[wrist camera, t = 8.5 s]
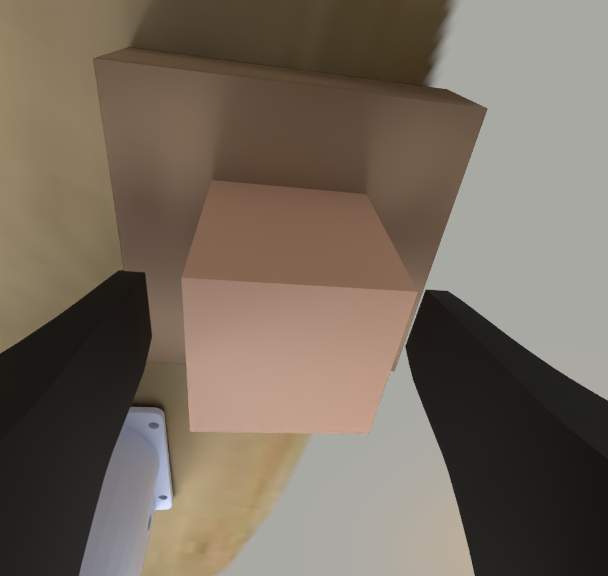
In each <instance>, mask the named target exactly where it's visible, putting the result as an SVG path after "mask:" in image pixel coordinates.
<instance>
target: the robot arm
mask: <svg viewBox="0 0 608 576" xmlns="http://www.w3.org/2000/svg"><path fill="white" fill-rule="evenodd" d="M151 339H152V329H151V320H150V311H149V302H148V293H147V284H146V275H145V272H133V271H118V272H116V273H115V274H113V275H112V276H111V277H109V278H108V279H107V280H105V281H104V282H103V283H101V284H100V285H99V286H98V287H96V288H95V289H94V290H92V291H91V292H90V293H88V294H87V295H86V296H85V297H83V298H82V299H80V300H79V301H78V302H76V303H75V304H74V305H72V306H71V307H70V308H68V309H67V310H66V311H64V312H63V313H61V314H60V315H59V316H57V317H56V318H54V319H53V320H51V321H50V322H48V323H47V324H45V325H44V326H42V327H41V328H39V329H38V330H36V331H35V332H33V333H32V334H30V335H29V336H27V337H26V338H24V339H23V340H21V341H20V342H18V343H17V344H15V345H14V346H12V347H10V348H9V349H7V350H6V351H4V352H2V353H0V576H141V573H142V568H143V564H144V559H145V554H146V550H147V545H148V541H149V536H150V532H151V527H152V523H153V518H154V513H155V510H166V509H170V508H171V507H172V505H173V492H172V482H171V473H170V463H169V453H168V444H167V434H166V425H165V415H164V412H163V411H162V410H161V409H159V408H155V407H130V406H131V404H132V401H133V399H134V396H135V393H136V391H137V388H138V386H139V383H140V380H141V378H142V375H143V372H144V369H145V365H146V361H147V357H148V352H149V348H150V344H151ZM406 351H407V356H408V360H409V365H410V369H411V373H412V377H413V380H414V383H415V386H416V388H417V391H418V394H419V396H420V399H421V401H422V404H423V407H424V409H425V412H426V414H427V417H428V419H429V422H430V424H431V427H432V429H433V432H434V434H435V437H436V439H437V442H438V444H439V447H440V449H441V452H442V454H443V457H444V460H445V463H446V466H447V469H448V472H449V475H450V479H451V483H452V486H453V490H454V493H455V497H456V500H457V504H458V507H459V511H460V515H461V519H462V523H463V527H464V531H465V535H466V539H467V543H468V547H469V551H470V555H471V560H472V564H473V569H474V574H475V576H608V401H607V400H606V399H604V398H602V397H600V396H599V395H597V394H595V393H593V392H592V391H590V390H588V389H587V388H585V387H583V386H582V385H580V384H578V383H577V382H575V381H573V380H572V379H570V378H568V377H567V376H565V375H564V374H562V373H561V372H559V371H558V370H556V369H554V368H553V367H551V366H550V365H548V364H547V363H546V362H544V361H543V360H541V359H540V358H538V357H537V356H535V355H534V354H533V353H531V352H530V351H528V350H527V349H526V348H524V347H523V346H521V345H520V344H518V343H517V342H516V341H514V340H513V339H512V338H510V337H509V336H508V335H506V334H505V333H504V332H502V331H501V330H500V329H498V328H497V327H496V326H495V325H493V324H492V323H491V322H489V321H488V320H487V319H485V318H484V317H483V316H481V315H480V314H479V313H478V312H476V311H475V310H474V309H472V308H471V307H470V306H468V305H467V304H466V303H464V302H463V301H462V300H460V299H459V298H457V297H456V296H454V295H453V294H451V293H450V292H448V291H437V290H426V291H425V293H424V296H423V299H422V302H421V305H420V307H419V310H418V313H417V316H416V319H415V321H414V324H413V327H412V330H411V332H410V335H409V338H408V341H407V344H406Z"/></svg>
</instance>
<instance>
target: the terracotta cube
mask: <svg viewBox="0 0 608 576" xmlns="http://www.w3.org/2000/svg"><path fill="white" fill-rule="evenodd" d="M181 280H182V298H183V316H184V334H185V352H186V370H187V388H188V406H189V424H190V432H248V433H340V434H341V433H343V434H345V433H346V434H369V433H370V430H371V427H372V424H373V421H374V418H375V415H376V412H377V409H378V406H379V403H380V400H381V398H382V395H383V392H384V389H385V386H386V383H387V380H388V377H389V374H390V371H391V369H392V366H393V363H394V360H395V357H396V354H397V351H398V348H399V345H400V342H401V340H402V337H403V334H404V331H405V328H406V325H407V322H408V319H409V316H410V313H411V310H412V308H413V305H414V302H415V299H416V296H417V293H418V291H417V289H416V287H415V285H414V283H413V282H412V280H411V278H410V276H409V274H408V272H407V270H406V268H405V266H404V264H403V263H402V261H401V259H400V257H399V255H398V253H397V251H396V249H395V247H394V245H393V244H392V242H391V240H390V238H389V236H388V234H387V232H386V230H385V228H384V226H383V225H382V223H381V221H380V219H379V217H378V215H377V213H376V211H375V209H374V207H373V206H372V204H371V202H370V200H369V198H368V196H367V194H359V193H348V192H337V191H326V190H315V189H304V188H293V187H282V186H271V185H260V184H249V183H238V182H227V181H216V180H212V181H211V184H210V187H209V190H208V194H207V197H206V200H205V203H204V206H203V210H202V213H201V216H200V219H199V223H198V226H197V229H196V232H195V236H194V239H193V242H192V245H191V248H190V252H189V255H188V258H187V261H186V265H185V268H184V271H183V274H182V277H181Z"/></svg>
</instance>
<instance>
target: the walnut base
mask: <svg viewBox="0 0 608 576" xmlns="http://www.w3.org/2000/svg"><path fill="white" fill-rule="evenodd" d="M93 61H94V67H95V74H96V81H97V88H98V95H99V102H100V109H101V115H102V122H103V129H104V136H105V143H106V150H107V157H108V163H109V170H110V177H111V184H112V191H113V198H114V204H115V211H116V218H117V225H118V232H119V239H120V246H121V252H122V259H123V266H124V271H133V272H145V275H146V284H147V293H148V302H149V311H150V320H151V329H152V339H151V344H150V348H149V352H148V357H147V361H146V363H171V364H186V352H185V334H184V316H183V298H182V280H181V277H182V274H183V271H184V268H185V265H186V261H187V258H188V255H189V252H190V248H191V245H192V242H193V239H194V236H195V232H196V229H197V226H198V223H199V219H200V216H201V213H202V210H203V206H204V203H205V200H206V197H207V194H208V190H209V187H210V184H211V181H212V180H216V181H227V182H238V183H249V184H260V185H271V186H282V187H293V188H304V189H315V190H326V191H337V192H348V193H359V194H367V196H368V198H369V200H370V202H371V204H372V206H373V207H374V209H375V211H376V213H377V215H378V217H379V219H380V221H381V223H382V225H383V226H384V228H385V230H386V232H387V234H388V236H389V238H390V240H391V242H392V244H393V245H394V247H395V249H396V251H397V253H398V255H399V257H400V259H401V261H402V263H403V264H404V266H405V268H406V270H407V272H408V274H409V276H410V278H411V280H412V282H413V283H414V285H415V287H416V289H417V291H418V293H417V296H416V299H415V302H414V305H413V308H412V310H411V313H410V316H409V319H408V322H407V325H406V328H405V331H404V334H403V337H402V340H401V342H400V345H399V348H398V351H397V354H396V357H395V360H394V363H393V366H392V369H391V371H395V368H396V366H397V363H398V360H399V357H400V354H401V351H402V349H403V346H404V343H405V340H406V337H407V334H408V331H409V329H410V326H411V323H412V320H413V317H414V315H415V312H416V309H417V306H418V303H419V301H420V297H421V295H422V292H423V289H424V286H425V284H426V281H427V278H428V275H429V272H430V270H431V267H432V264H433V261H434V258H435V255H436V253H437V250H438V247H439V244H440V241H441V238H442V236H443V232H444V230H445V227H446V224H447V221H448V219H449V216H450V213H451V210H452V207H453V204H454V202H455V199H456V196H457V193H458V190H459V188H460V185H461V182H462V179H463V176H464V174H465V171H466V168H467V165H468V162H469V159H470V157H471V154H472V151H473V148H474V145H475V142H476V140H477V137H478V134H479V131H480V128H481V126H482V123H483V120H484V117H485V114H486V111H487V108H485V107H483V106H481V105H479V104H477V103H475V102H472V101H470V100H468V99H466V98H464V97H462V96H460V95H458V94H456V93H453V92H451V91H449V90H447V89H440V88H433V87H425V86H417V85H410V84H402V83H395V82H387V81H380V80H372V79H365V78H357V77H349V76H342V75H334V74H327V73H319V72H312V71H304V70H297V69H289V68H281V67H274V66H266V65H259V64H251V63H244V62H236V61H229V60H221V59H213V58H206V57H198V56H191V55H183V54H176V53H168V52H161V51H153V50H145V49H138V48H130V47H128V48H125V49H121V50H118V51H115V52H112V53H109V54H105V55H102V56H99V57H96V58H93Z"/></svg>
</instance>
